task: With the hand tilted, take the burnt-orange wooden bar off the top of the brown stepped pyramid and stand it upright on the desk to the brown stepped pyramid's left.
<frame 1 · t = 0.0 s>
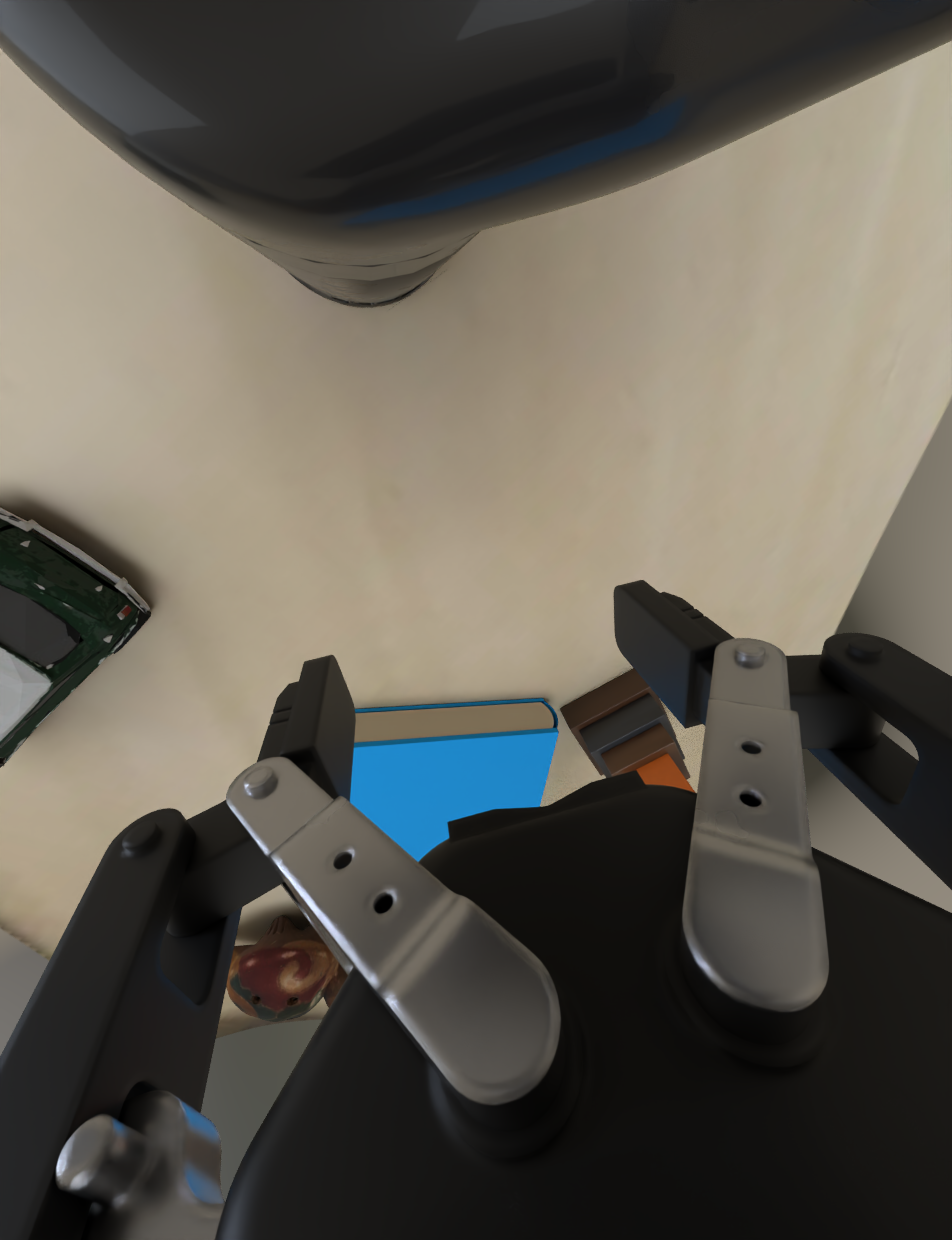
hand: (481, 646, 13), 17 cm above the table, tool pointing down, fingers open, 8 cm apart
brown stepped pyramid: (612, 713, 41), on the table
book: (440, 801, 44), on the table
miniature car: (10, 633, 28), on the table
bar: (652, 776, 35), point 7 cm above the table, touching brown stepped pyramid
decorative turtle: (295, 926, 50), on the table
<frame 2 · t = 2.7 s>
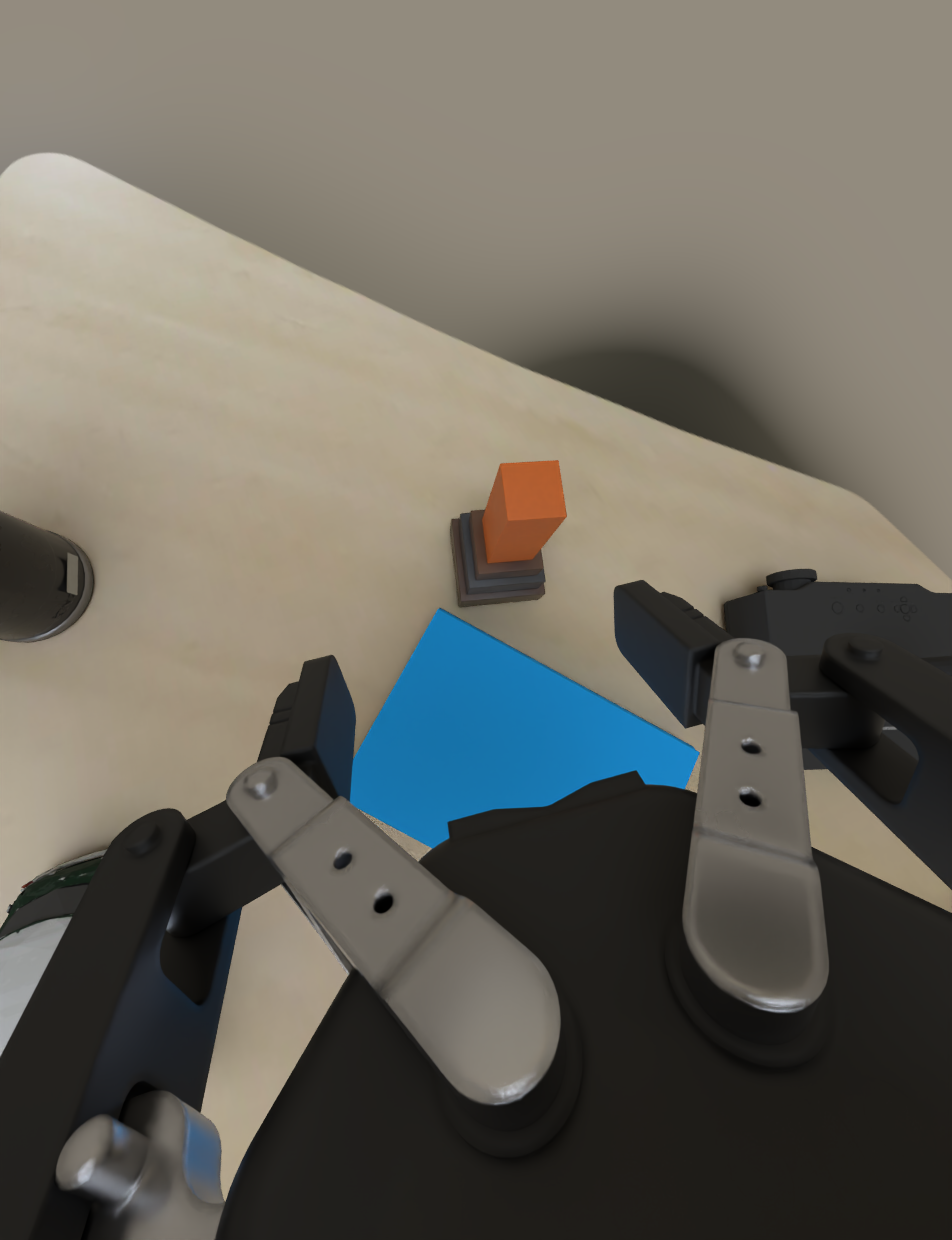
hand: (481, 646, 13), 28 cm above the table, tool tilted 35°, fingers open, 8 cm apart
brown stepped pyramid: (494, 564, 43), on the table
book: (516, 762, 41), on the table
miniature car: (130, 964, 35), on the table
bar: (507, 539, 36), point 7 cm above the table, touching brown stepped pyramid
projector: (815, 668, 45), on the table
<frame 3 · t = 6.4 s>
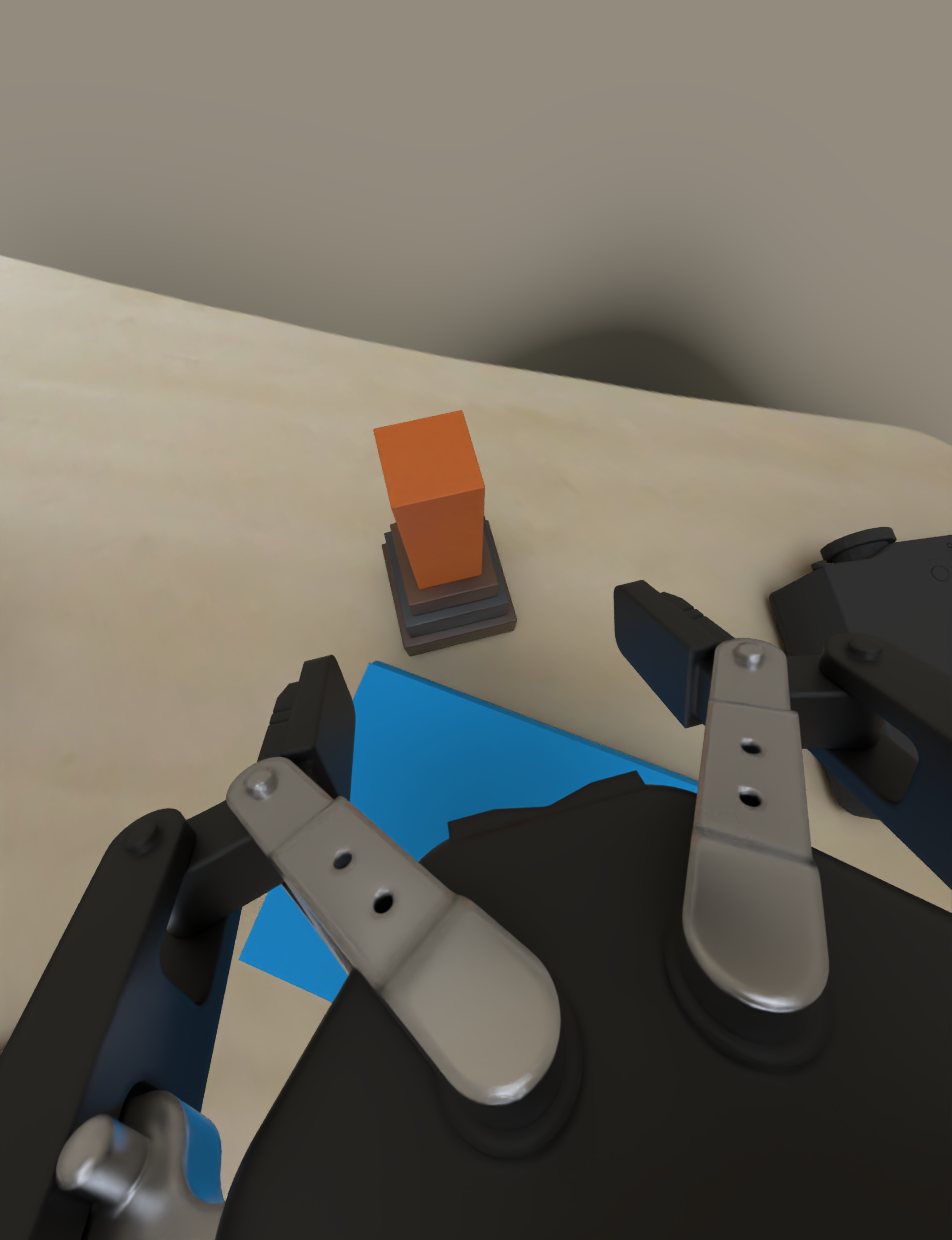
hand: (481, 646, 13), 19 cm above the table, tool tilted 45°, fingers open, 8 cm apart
brown stepped pyramid: (449, 593, 33), on the table
book: (515, 863, 29), on the table
bar: (443, 553, 26), point 7 cm above the table, touching brown stepped pyramid
projector: (921, 666, 32), on the table
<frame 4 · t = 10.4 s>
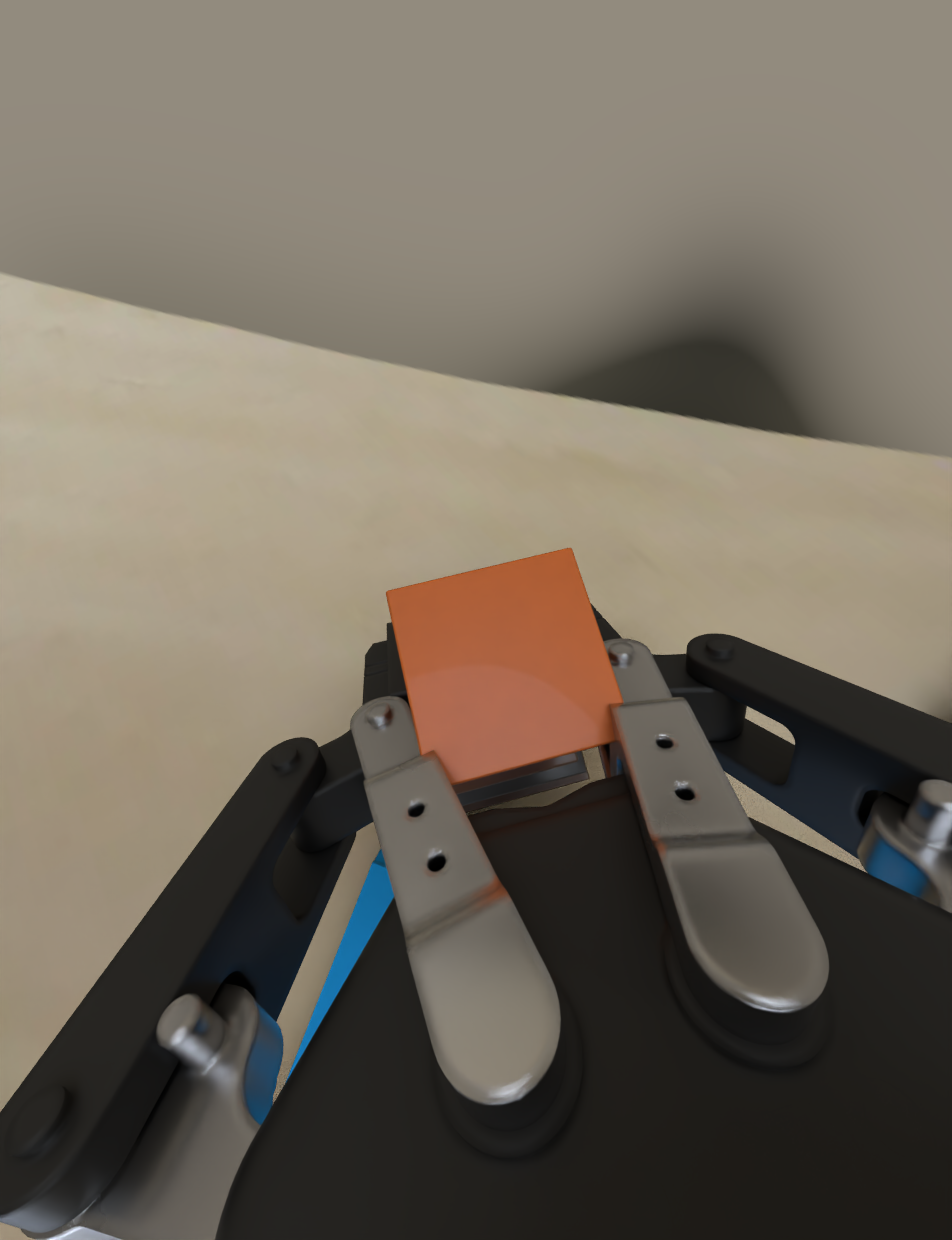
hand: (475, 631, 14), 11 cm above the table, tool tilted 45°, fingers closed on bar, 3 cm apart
brown stepped pyramid: (485, 719, 24), on the table
book: (591, 1156, 19), on the table
bar: (489, 707, 17), point 7 cm above the table, touching gripper, brown stepped pyramid
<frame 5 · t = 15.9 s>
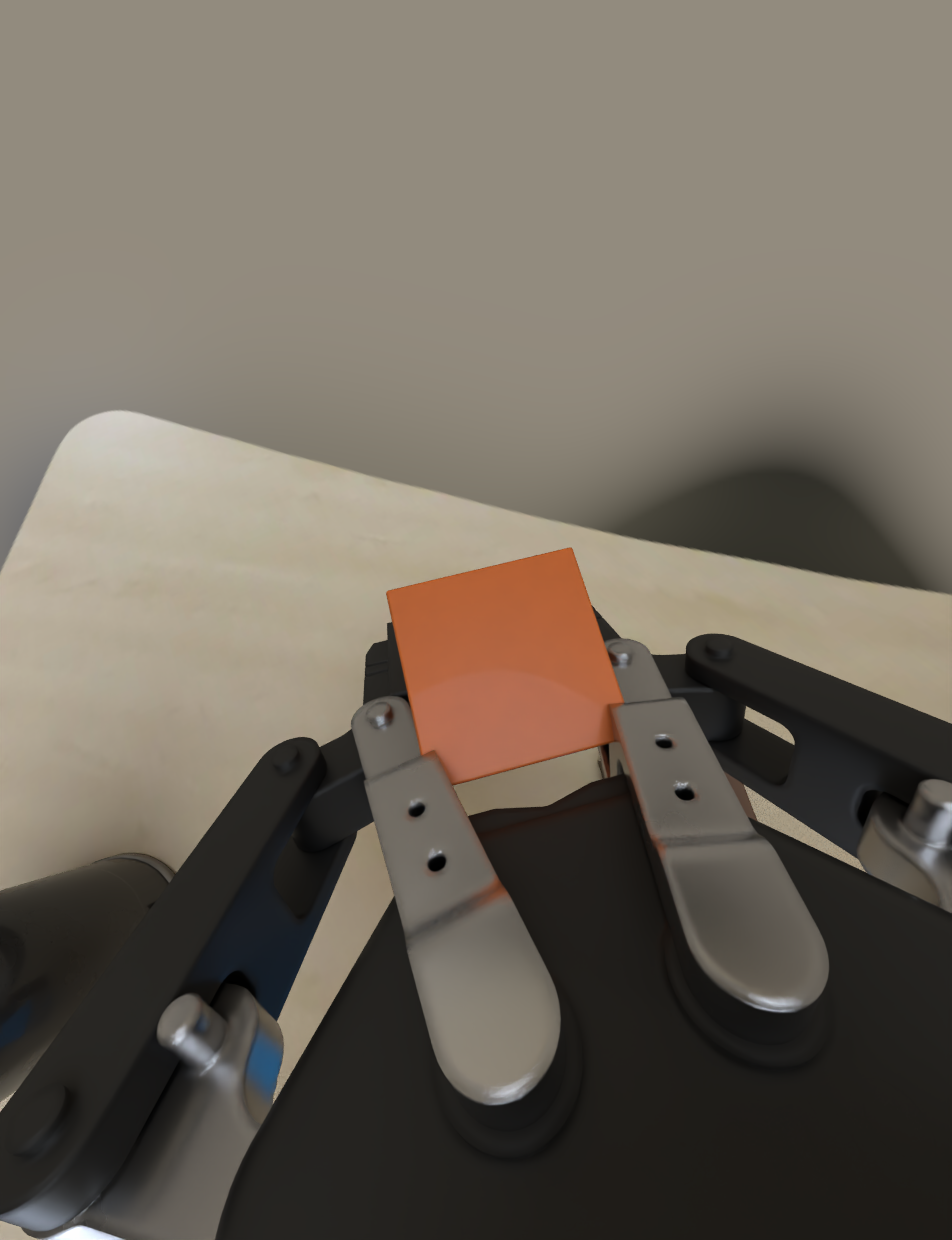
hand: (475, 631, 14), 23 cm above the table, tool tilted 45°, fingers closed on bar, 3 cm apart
brown stepped pyramid: (662, 799, 34), on the table
bar: (489, 707, 17), point 19 cm above the table, touching gripper
when the fingers open (4 cm above the table, at t = 21.4 s): bar stays where it is, on the table.
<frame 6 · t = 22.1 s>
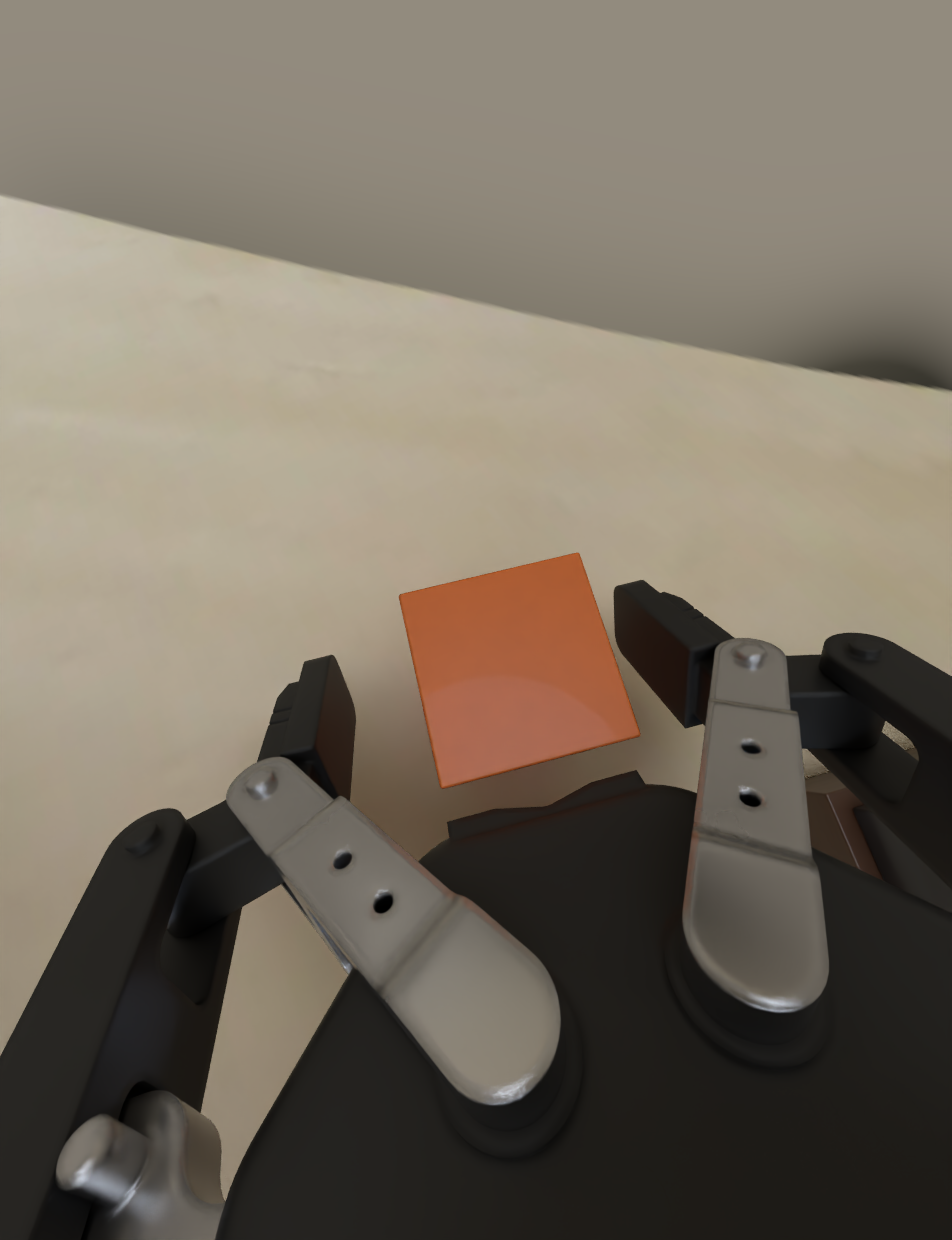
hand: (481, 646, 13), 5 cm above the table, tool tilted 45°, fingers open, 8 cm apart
brown stepped pyramid: (923, 872, 16), on the table
bar: (495, 707, 17), on the table
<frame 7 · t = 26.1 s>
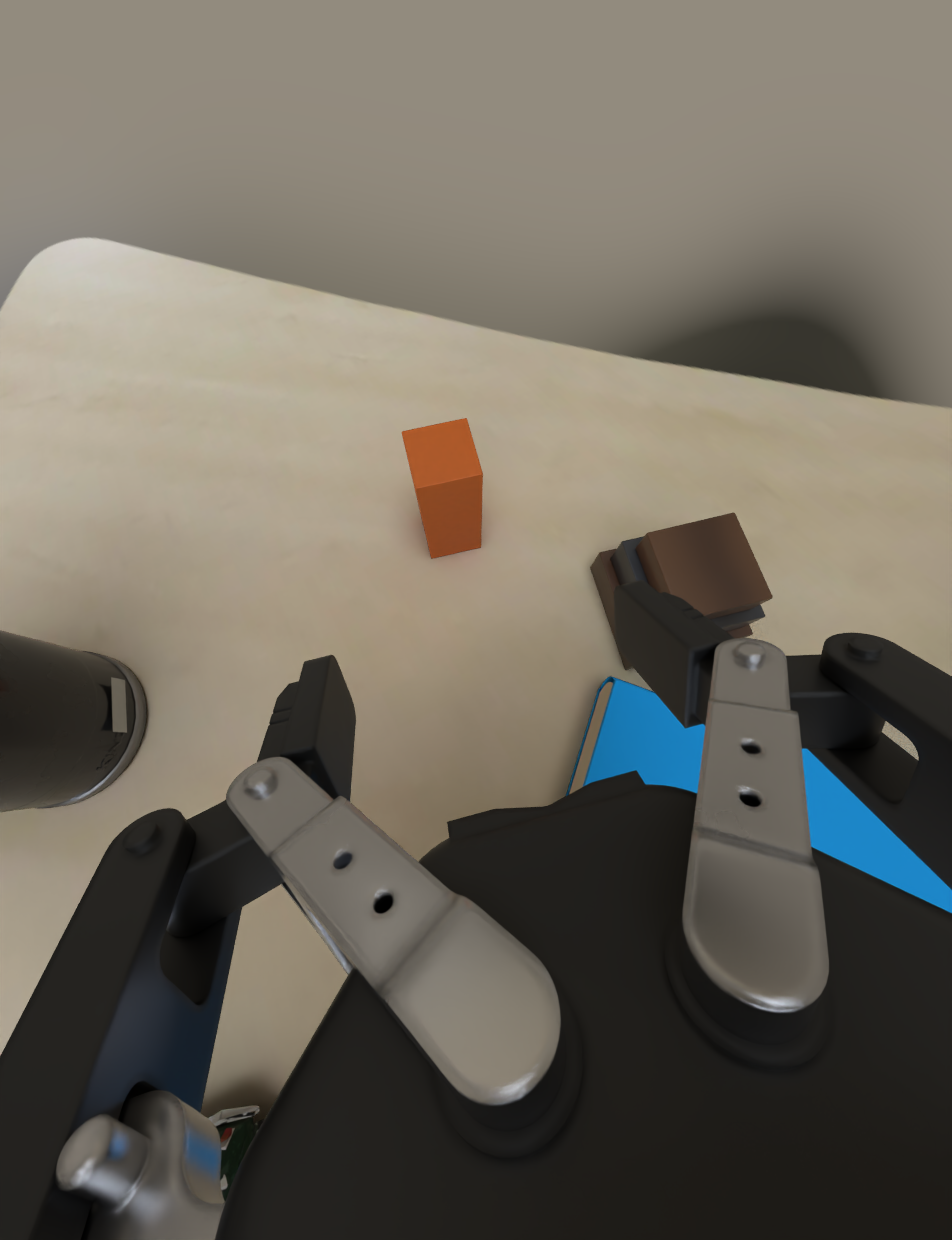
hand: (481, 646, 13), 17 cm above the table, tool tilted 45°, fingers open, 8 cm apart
brown stepped pyramid: (659, 604, 32), on the table
book: (763, 891, 27), on the table
bar: (450, 530, 33), on the table
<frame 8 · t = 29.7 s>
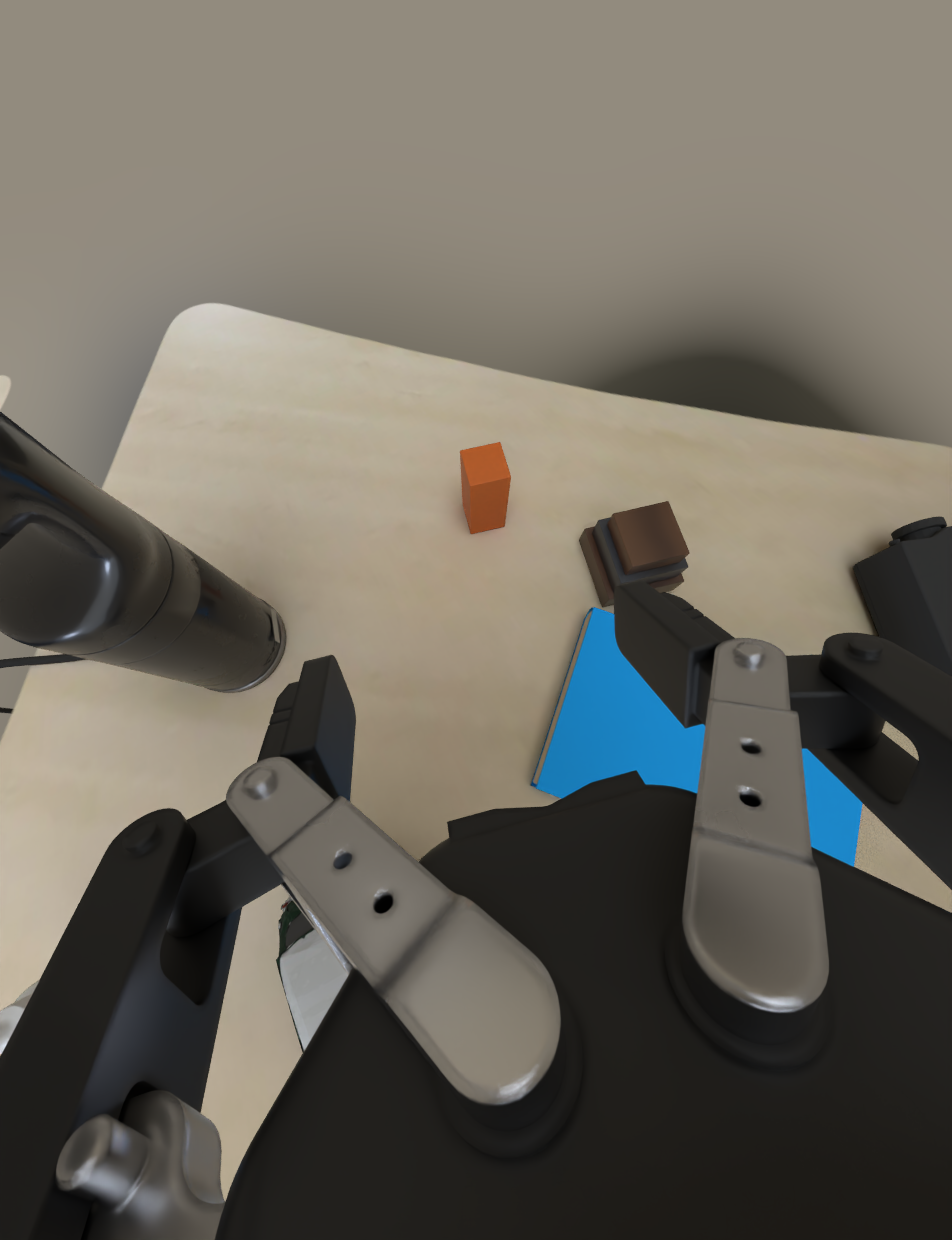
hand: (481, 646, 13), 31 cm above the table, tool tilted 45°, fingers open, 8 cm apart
brown stepped pyramid: (625, 564, 47), on the table
book: (688, 743, 42), on the table
miniature car: (377, 976, 37), on the table
bar: (483, 515, 48), on the table
eye dropper bottle: (137, 952, 38), on the table
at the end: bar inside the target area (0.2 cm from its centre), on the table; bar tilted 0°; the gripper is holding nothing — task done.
